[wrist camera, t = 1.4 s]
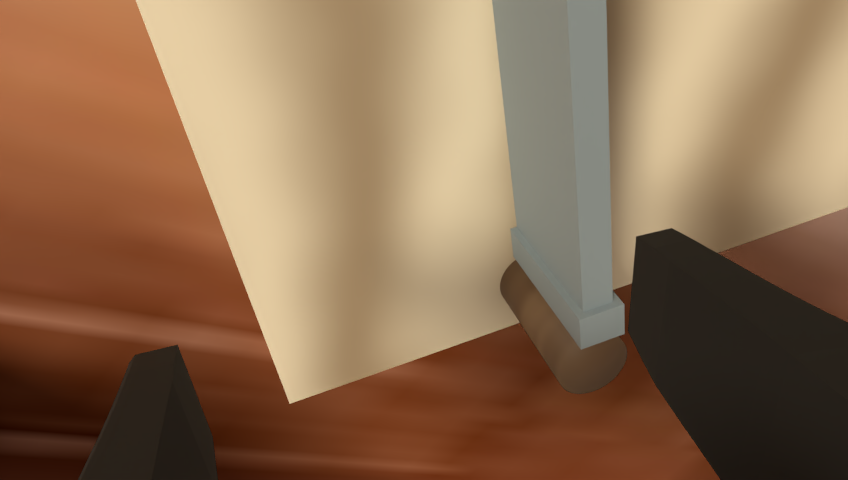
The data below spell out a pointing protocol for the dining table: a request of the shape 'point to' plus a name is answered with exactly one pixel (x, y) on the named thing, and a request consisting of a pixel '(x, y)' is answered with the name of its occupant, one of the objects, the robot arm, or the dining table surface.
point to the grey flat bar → (561, 157)
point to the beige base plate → (480, 160)
